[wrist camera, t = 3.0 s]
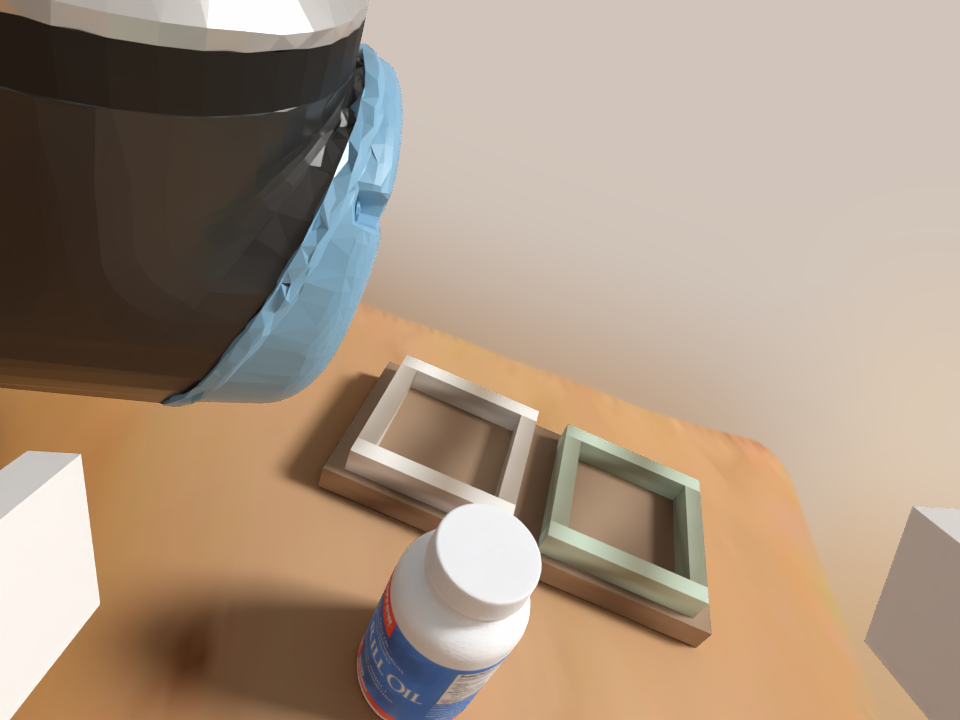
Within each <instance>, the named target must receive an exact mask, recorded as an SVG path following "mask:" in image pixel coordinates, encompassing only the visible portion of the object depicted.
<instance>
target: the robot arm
mask: <svg viewBox="0 0 960 720" xmlns="http://www.w3.org/2000/svg"><path fill="white" fill-rule="evenodd" d="M368 2H369V0H0V388H10V389H20V390H31V391H41V392H52V393H62V394H73V395H83V396H94V397H104V398H115V399H125V400H136V401H146V402H157V403H161V404H163V405H164V406H172V407H178V406H184V405H189V404H192V403H195V402H228V403H271V402H277V401H281V400H284V399H286V398H289V397H291V396H293V395H295V394H297V393H298V392H300V391H302V390H303V389H305V388H306V387H307V386H308V385H310V384H311V383H312V382H313V381H314V380H315V379H316V378H317V377H318V376H319V375H320V373H321V372H322V371H323V370H324V369H325V367H326V366H327V365H328V363H329V362H330V360H331V359H332V357H333V356H334V354H335V353H336V351H337V349H338V347H339V346H340V344H341V342H342V340H343V338H344V336H345V334H346V332H347V330H348V328H349V326H350V324H351V322H352V319H353V317H354V315H355V313H356V310H357V308H358V305H359V303H360V300H361V297H362V295H363V293H364V290H365V287H366V285H367V282H368V279H369V276H370V273H371V270H372V267H373V264H374V261H375V258H376V254H377V251H378V247H379V243H380V238H381V235H380V221H379V218H380V216H381V214H382V213H383V211H384V209H385V206H386V204H387V202H388V200H389V198H390V195H391V193H392V188H393V184H394V181H395V176H396V171H397V165H398V160H399V152H400V144H401V133H402V114H403V113H402V112H403V109H402V96H401V89H400V85H399V81H398V78H397V76H396V72H395V70H394V68H393V67H391V65H390V64H389V63H387V62H386V61H384V60H383V59H381V58H380V57H379V56H378V55H377V53H376V52H375V51H374V50H373V49H372V48H370V47H369V46H368V45H367V44H362V43H360V41H361V37H362V32H363V27H364V22H365V18H366V13H367V8H368ZM99 605H100V599H99V591H98V584H97V576H96V568H95V560H94V552H93V545H92V537H91V529H90V521H89V514H88V506H87V498H86V490H85V482H84V475H83V467H82V459H81V454H73V453H57V452H41V451H27V452H25V453H24V454H22V455H21V456H20V457H18V458H17V459H15V460H14V461H13V462H11V463H10V464H8V465H7V466H5V467H4V468H3V469H1V470H0V720H10V719H11V717H12V716H13V715H14V713H15V712H16V711H17V710H18V708H19V707H20V706H21V705H22V703H23V702H24V701H25V699H26V698H27V697H28V696H29V694H30V693H31V692H32V690H33V689H34V688H35V687H36V685H37V684H38V683H39V682H40V680H41V679H42V678H43V676H44V675H45V674H46V673H47V671H48V670H49V669H50V667H51V666H52V665H53V664H54V662H55V661H56V660H57V659H58V657H59V656H60V655H61V653H62V652H63V651H64V650H65V648H66V647H67V646H68V644H69V643H70V642H71V641H72V639H73V638H74V637H75V636H76V634H77V633H78V632H79V630H80V629H81V628H82V627H83V625H84V624H85V623H86V621H87V620H88V619H89V618H90V616H91V615H92V614H93V613H94V611H95V610H96V609H97V607H98V606H99ZM865 643H866V644H867V645H868V646H869V647H870V649H871V650H872V651H873V652H874V653H875V655H876V656H877V657H878V658H879V660H880V661H881V662H882V663H883V665H884V666H885V667H886V668H887V669H888V670H889V672H890V673H891V674H892V675H893V677H894V678H895V679H896V680H897V682H898V683H899V684H900V685H901V686H902V687H903V689H904V690H905V691H906V692H907V693H908V695H909V696H910V697H911V699H912V700H913V701H914V702H915V703H916V705H917V706H918V707H919V708H920V709H921V711H922V712H923V713H924V714H925V716H926V717H927V718H928V719H929V720H960V511H959V510H958V509H950V508H934V507H917V506H913V507H912V509H911V512H910V515H909V518H908V521H907V523H906V527H905V529H904V532H903V535H902V538H901V540H900V543H899V546H898V549H897V551H896V554H895V557H894V560H893V562H892V565H891V568H890V571H889V573H888V577H887V579H886V582H885V585H884V587H883V590H882V593H881V596H880V599H879V601H878V604H877V607H876V610H875V613H874V615H873V618H872V621H871V624H870V626H869V630H868V632H867V635H866V638H865Z"/></svg>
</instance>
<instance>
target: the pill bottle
mask: <svg viewBox="0 0 960 720" xmlns="http://www.w3.org/2000/svg"><path fill="white" fill-rule="evenodd" d="M540 574H541V555H540V551H539V548H538V546H537V543H536V541H535V539H534V537H533V536H532V534H531V533H530V531H529V530H528V529H527V527H526V526H525V525H524V524H523V523H522V522H521V521H520V520H518V519H517V518H516V517H515V516H513V515H512V514H510V513H509V512H507V511H505V510H503V509H501V508H499V507H495V506H492V505H488V504H481V503H473V504H466V505H462V506H459V507H457V508H455V509H453V510H452V511H450V512H449V513H448V514H447V515H446V516H445V517H444V518H443V519H442V520H441V522H440V524H439V525H438V527H437V529H434V530H432V531H429V532H427V533H425V534H423V535H422V536H420V537H419V538H417V539H416V540H415V541H414V542H412V543H411V544H410V546H409V547H408V548H407V549H406V550H405V552H404V553H403V555H402V556H401V558H400V560H399V562H398V563H397V565H396V567H395V569H394V571H393V573H392V575H391V577H390V580H389V582H388V584H387V586H386V589H385V591H384V593H383V595H382V597H381V599H380V601H379V603H378V606H377V608H376V610H375V612H374V614H373V616H372V618H371V620H370V622H369V624H368V626H367V628H366V631H365V633H364V635H363V637H362V640H361V643H360V646H359V650H358V656H357V674H358V680H359V684H360V687H361V690H362V693H363V695H364V697H365V699H366V701H367V702H368V704H369V705H370V706H371V708H372V709H373V710H374V711H375V713H376V714H377V715H379V716H380V717H381V718H382V719H384V720H453V719H454V718H455V717H456V716H458V715H459V714H460V713H461V712H462V711H463V710H464V709H465V707H466V706H467V705H468V704H469V703H470V701H471V700H472V699H473V698H474V696H475V695H476V694H477V693H478V691H479V690H480V689H481V688H482V686H483V685H484V684H485V683H486V682H487V680H488V679H489V678H490V677H491V675H492V674H493V673H494V672H495V671H496V669H497V668H498V667H499V666H500V664H501V663H502V662H503V661H504V660H505V658H506V657H507V656H508V655H509V653H510V652H511V651H512V650H513V648H514V647H515V646H516V644H517V643H518V642H519V640H520V639H521V637H522V635H523V633H524V631H525V629H526V626H527V623H528V619H529V614H530V595H531V593H532V592H533V590H534V589H535V587H536V586H537V584H538V581H539V578H540Z"/></svg>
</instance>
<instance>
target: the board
mask: <svg viewBox="0 0 960 720" xmlns="http://www.w3.org/2000/svg"><path fill="white" fill-rule="evenodd" d="M538 413H539V411H537V410H534V409H532V408H530V407H527V406H525V405H523V404H520V403H518V402H516V401H513V400H511V399H509V398H506V397H504V396H502V395H499V394H497V393H495V392H492V391H490V390H488V389H486V388H483V387H481V386H479V385H476V384H474V383H472V382H469V381H467V380H465V379H462V378H460V377H458V376H455V375H453V374H451V373H448V372H446V371H444V370H441V369H439V368H437V367H435V366H432V365H430V364H428V363H425V362H423V361H421V360H418V359H416V358H414V357H411V356H409V355H407V356H406V357H405V359H404V361H403V362H402V364H401V366H399V365H396V364H394V363H392V362H389V363H388V365H387V366H386V368H385V369H384V371H383V373H382V374H381V376H380V377H379V379H378V381H377V382H376V384H375V385H374V387H373V389H372V390H371V392H370V393H369V395H368V397H367V398H366V400H365V401H364V403H363V404H362V406H361V408H360V409H359V411H358V412H357V414H356V416H355V417H354V419H353V420H352V422H351V424H350V425H349V427H348V428H347V430H346V432H345V433H344V435H343V436H342V438H341V440H340V441H339V443H338V444H337V446H336V448H335V449H334V451H333V452H332V454H331V455H330V457H329V459H328V460H327V462H326V463H325V465H324V467H323V469H322V473H321V476H320V480H319V483H318V486H320V487H322V488H325V489H327V490H329V491H332V492H334V493H336V494H339V495H341V496H343V497H346V498H348V499H350V500H353V501H355V502H357V503H360V504H362V505H364V506H367V507H369V508H371V509H374V510H376V511H378V512H381V513H383V514H385V515H388V516H390V517H392V518H395V519H397V520H399V521H402V522H404V523H406V524H409V525H411V526H413V527H416V528H418V529H420V530H423V531H425V532H429V531H432V530H434V529H437V527H438V525H439V524H440V522H441V520H442V519H443V518H444V517H445V516H446V515H447V514H448V513H449V512H450V511H452V510H453V509H455V508H457V507H459V506H462V505H466V504H473V503H481V504H488V505H492V506H495V507H499V508H501V509H503V510H505V511H507V512H509V513H510V514H512V515H513V516H515V517H516V518H517V519H518V520H520V521H521V522H522V523H523V524H524V525H525V526H526V527H527V529H528V530H529V531H530V533H531V534H532V536H533V537H534V539H535V541H536V543H537V546H538V548H539V551H540V555H541V574H540V578H539V581H542V582H544V583H546V584H549V585H551V586H553V587H556V588H558V589H560V590H563V591H565V592H567V593H570V594H572V595H574V596H577V597H579V598H581V599H584V600H586V601H588V602H591V603H593V604H595V605H598V606H600V607H603V608H605V609H607V610H610V611H612V612H614V613H617V614H619V615H621V616H624V617H626V618H628V619H631V620H633V621H635V622H638V623H640V624H642V625H645V626H647V627H649V628H652V629H654V630H656V631H659V632H661V633H663V634H666V635H668V636H670V637H673V638H675V639H677V640H680V641H682V642H684V643H687V644H689V645H691V646H694V647H698V646H699V645H700V644H701V643H702V642H703V641H704V640H706V639H707V638H708V637H709V636H710V635H711V634H712V633H711V621H710V609H709V596H708V584H707V571H706V559H705V546H704V534H703V521H702V509H701V497H700V486H699V480H697V479H694V478H692V477H690V476H687V475H685V474H683V473H680V472H678V471H676V470H673V469H671V468H669V467H666V466H664V465H662V464H659V463H657V462H655V461H652V460H650V459H648V458H646V457H643V456H641V455H639V454H636V453H634V452H632V451H629V450H627V449H625V448H622V447H620V446H618V445H615V444H613V443H611V442H608V441H606V440H604V439H601V438H599V437H597V436H595V435H592V434H590V433H588V432H585V431H583V430H581V429H578V428H576V427H574V426H571V425H569V424H568V425H567V427H566V428H565V430H564V432H563V433H562V435H559V434H556V433H554V432H552V431H549V430H547V429H545V428H542V427H540V426H538V425H536V421H537V417H538Z"/></svg>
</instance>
